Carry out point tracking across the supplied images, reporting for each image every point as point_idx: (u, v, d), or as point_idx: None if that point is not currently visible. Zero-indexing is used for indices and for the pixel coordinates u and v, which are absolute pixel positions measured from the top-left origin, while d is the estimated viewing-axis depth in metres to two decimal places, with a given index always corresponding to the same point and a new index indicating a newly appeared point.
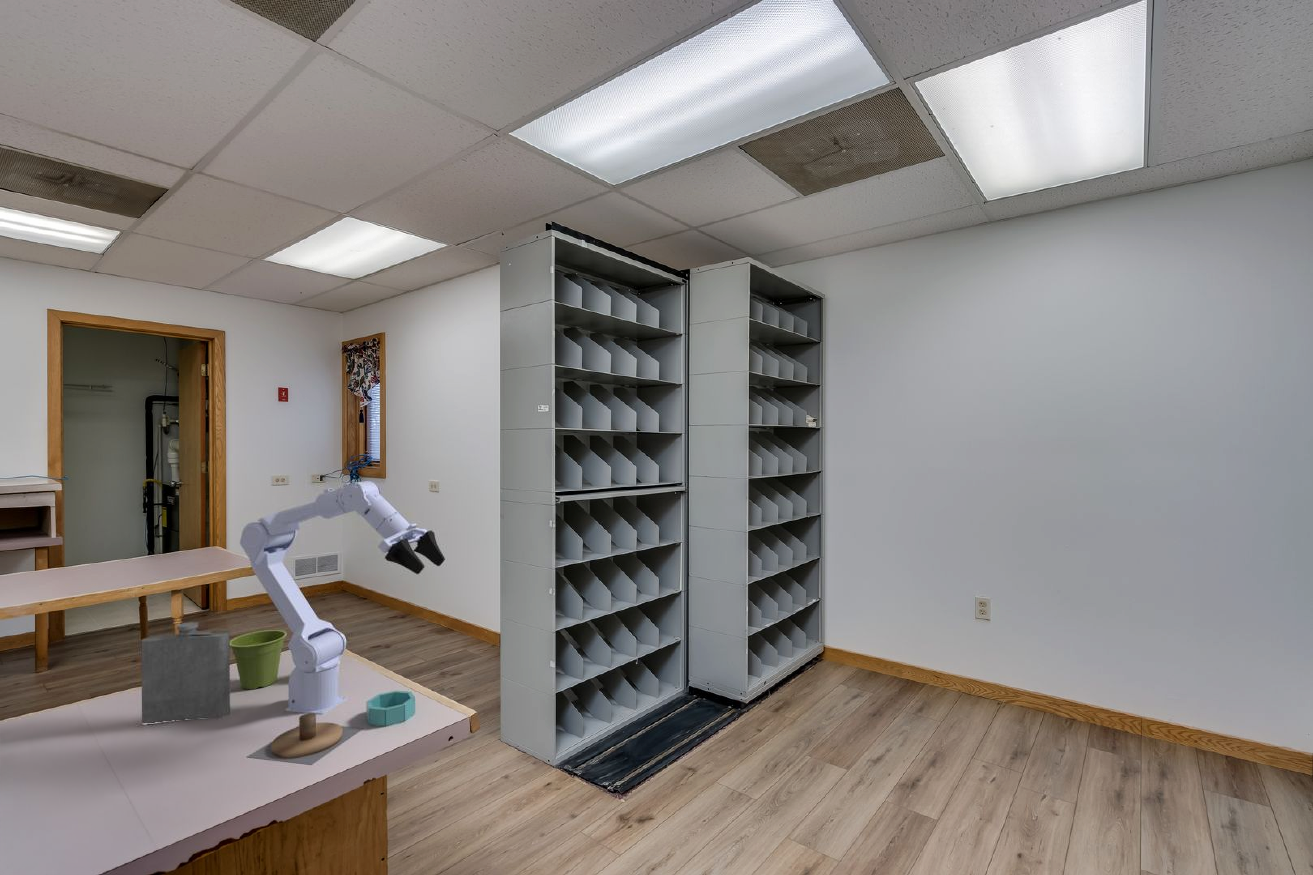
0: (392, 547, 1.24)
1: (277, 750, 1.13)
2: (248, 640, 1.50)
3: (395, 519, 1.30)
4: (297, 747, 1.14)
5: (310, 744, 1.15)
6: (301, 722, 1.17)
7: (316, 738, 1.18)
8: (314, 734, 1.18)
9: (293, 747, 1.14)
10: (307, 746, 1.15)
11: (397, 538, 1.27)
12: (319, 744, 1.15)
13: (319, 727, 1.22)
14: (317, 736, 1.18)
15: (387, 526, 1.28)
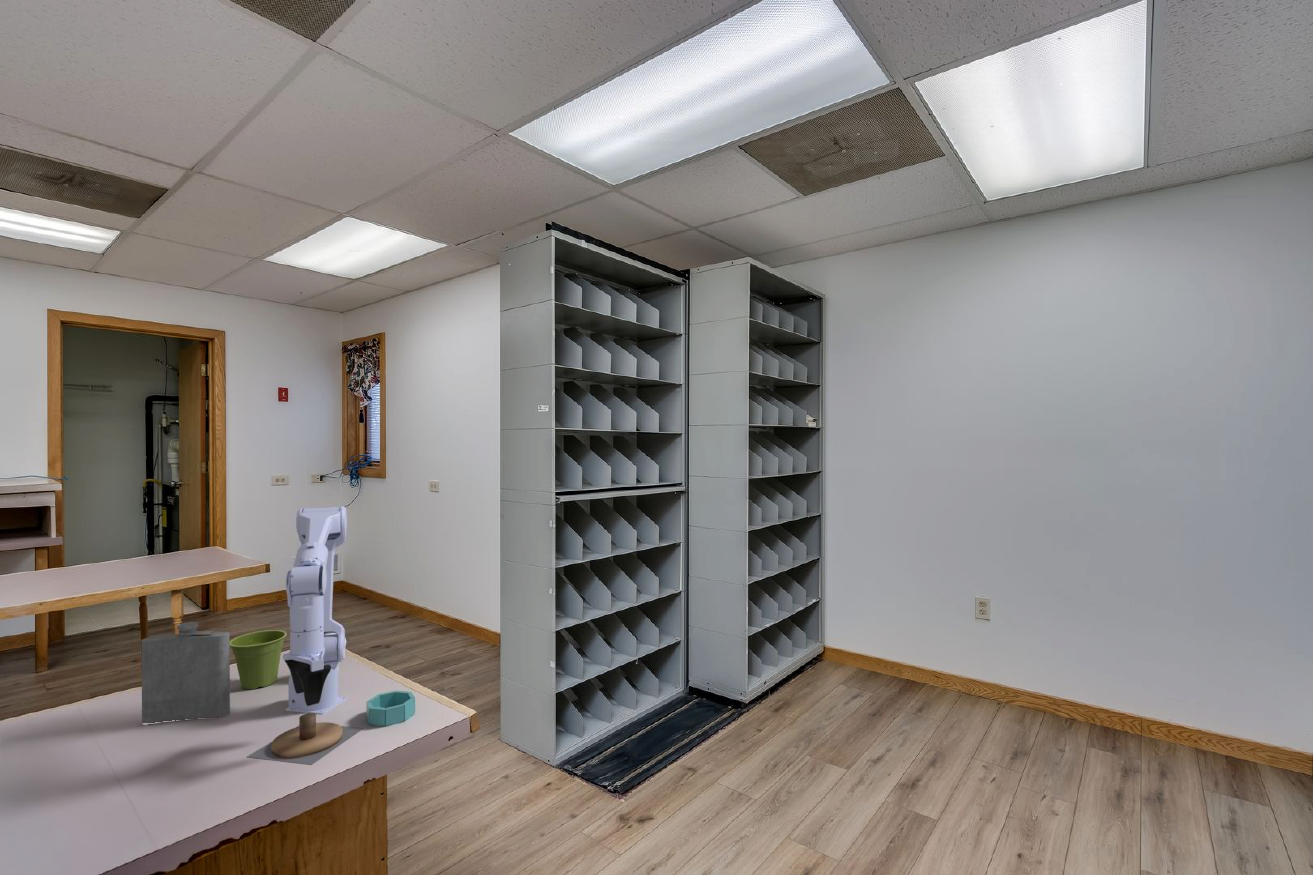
0: None
1: (277, 750, 1.13)
2: (248, 640, 1.50)
3: None
4: (297, 747, 1.14)
5: (310, 744, 1.15)
6: (301, 722, 1.17)
7: (316, 738, 1.18)
8: (314, 734, 1.18)
9: (293, 746, 1.14)
10: (307, 746, 1.15)
11: None
12: (319, 744, 1.15)
13: (319, 726, 1.22)
14: (317, 736, 1.18)
15: None
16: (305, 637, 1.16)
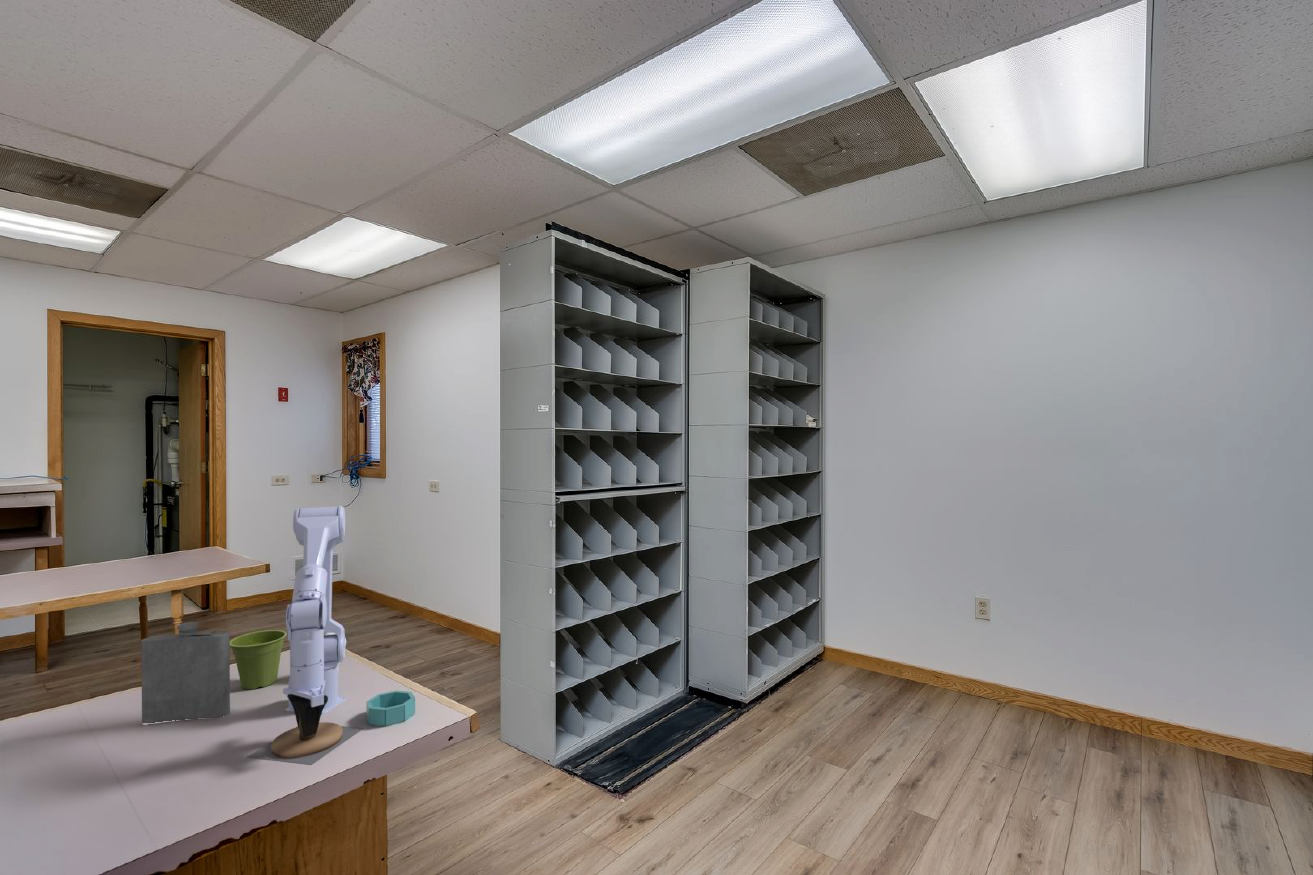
0: None
1: (277, 750, 1.13)
2: (248, 640, 1.50)
3: None
4: (297, 747, 1.14)
5: (310, 744, 1.15)
6: None
7: (316, 738, 1.18)
8: (314, 734, 1.18)
9: (293, 747, 1.14)
10: (307, 746, 1.15)
11: None
12: (319, 744, 1.15)
13: (319, 726, 1.22)
14: (317, 736, 1.18)
15: None
16: (305, 671, 1.16)
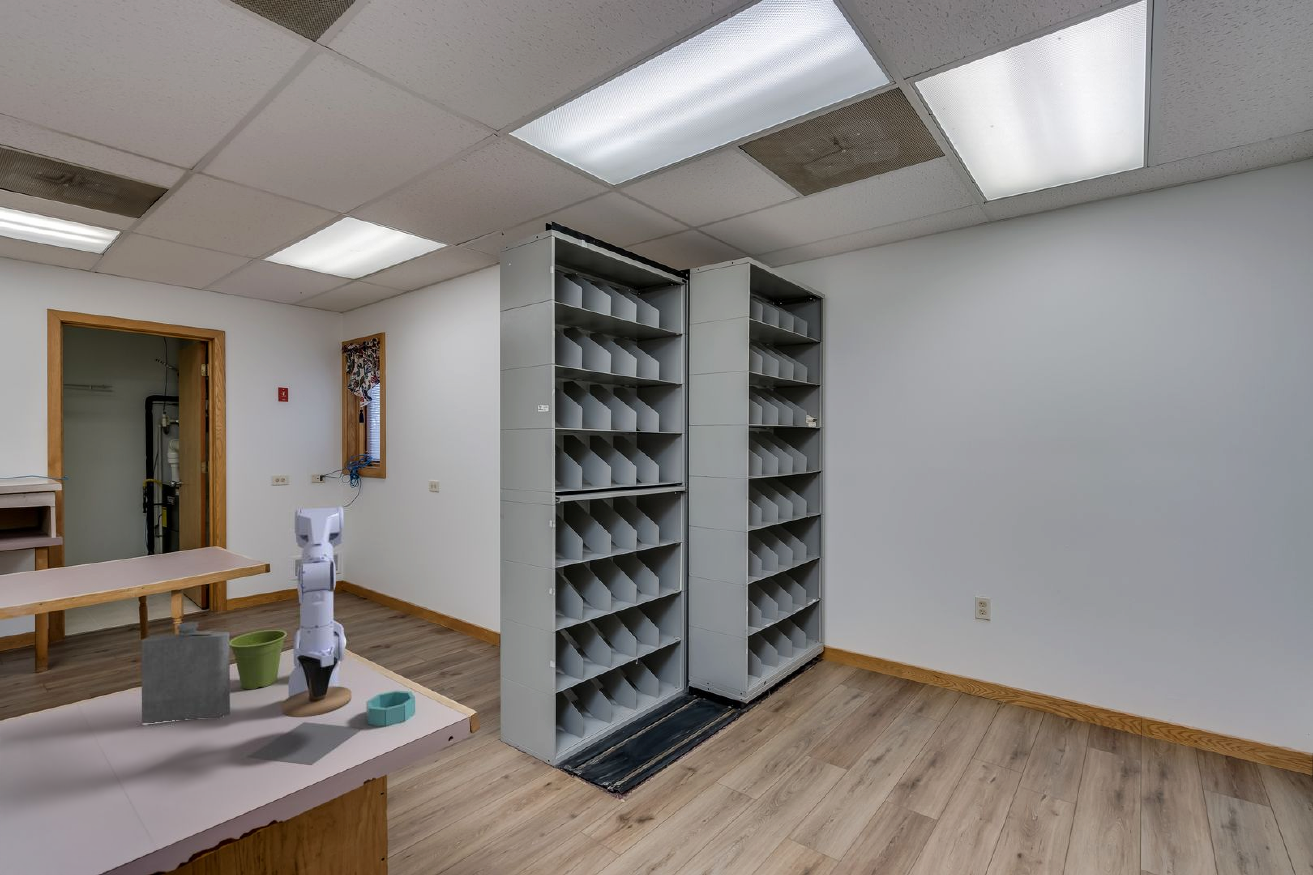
0: None
1: (287, 710, 1.15)
2: (248, 640, 1.50)
3: None
4: (306, 707, 1.16)
5: (320, 704, 1.17)
6: None
7: (326, 700, 1.19)
8: (324, 696, 1.20)
9: (303, 707, 1.16)
10: (317, 706, 1.16)
11: None
12: (329, 704, 1.17)
13: (329, 690, 1.24)
14: (327, 698, 1.20)
15: None
16: (315, 633, 1.17)
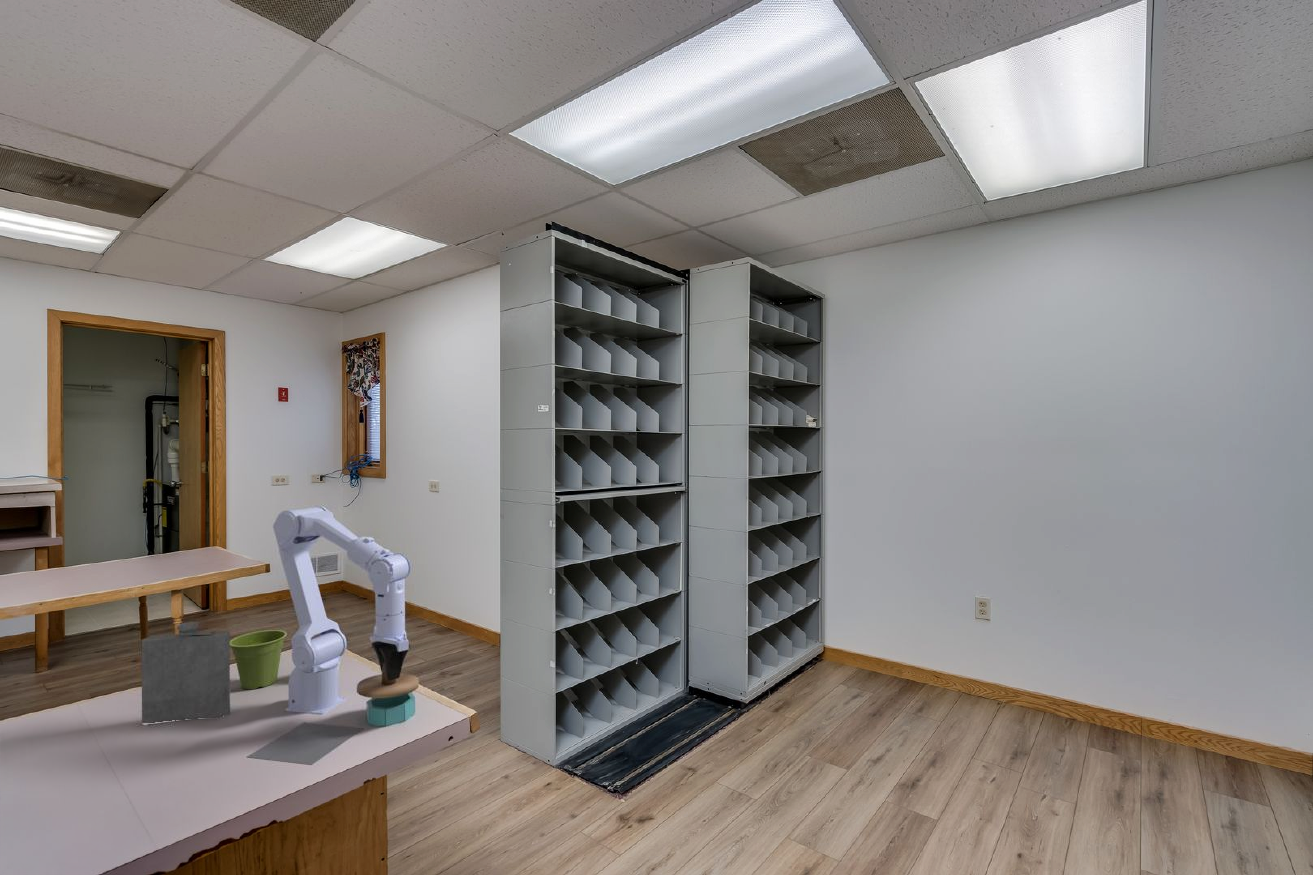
0: None
1: (364, 690, 1.24)
2: (248, 640, 1.50)
3: None
4: (381, 689, 1.25)
5: (393, 688, 1.26)
6: (385, 668, 1.28)
7: (397, 684, 1.28)
8: (395, 680, 1.29)
9: (378, 689, 1.25)
10: (391, 689, 1.25)
11: None
12: (401, 688, 1.26)
13: None
14: (397, 682, 1.29)
15: None
16: (390, 620, 1.27)
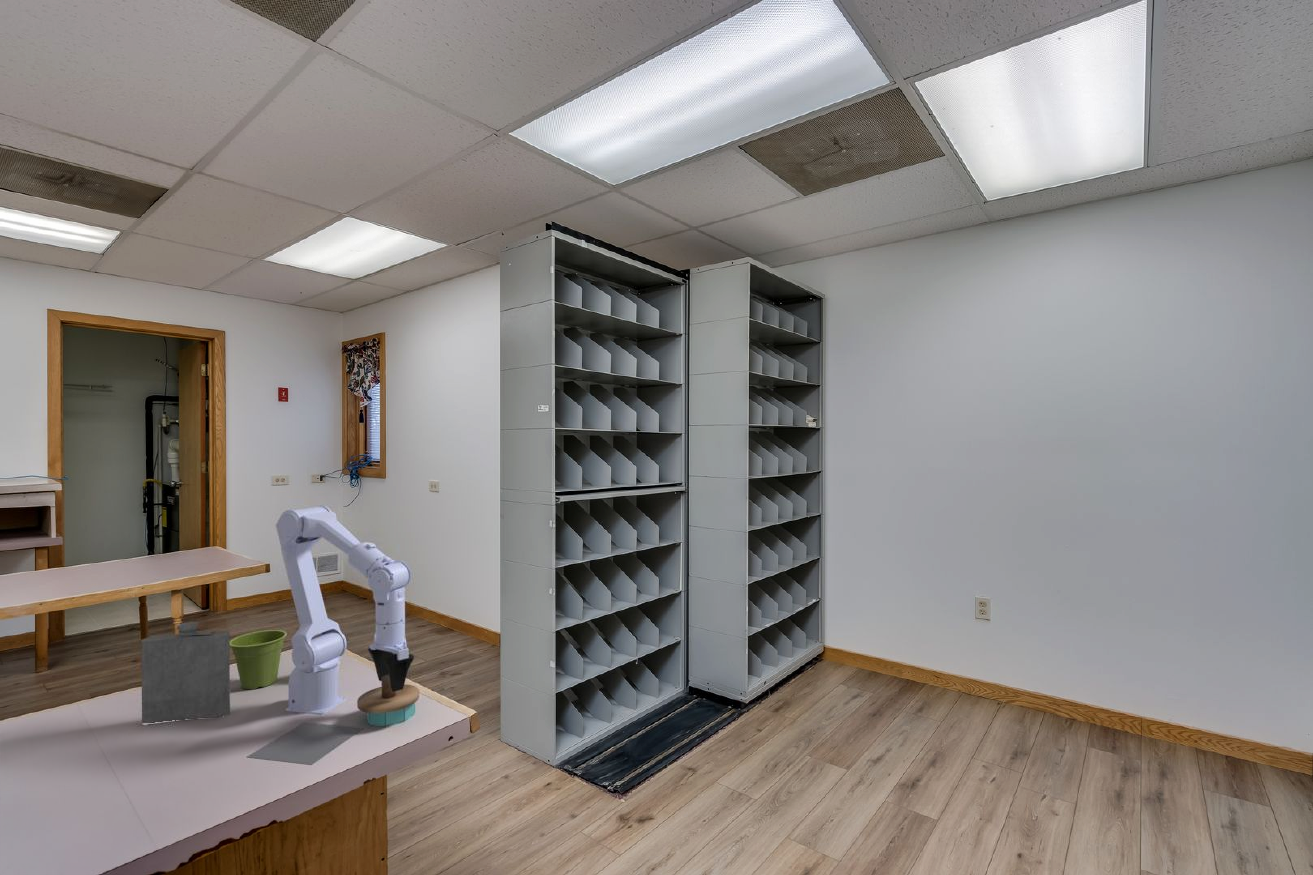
0: None
1: (364, 706, 1.24)
2: (248, 640, 1.50)
3: None
4: (381, 703, 1.25)
5: (393, 701, 1.26)
6: (384, 682, 1.28)
7: (397, 697, 1.28)
8: (395, 693, 1.29)
9: (378, 703, 1.25)
10: (391, 702, 1.25)
11: None
12: (401, 701, 1.26)
13: None
14: (397, 695, 1.29)
15: None
16: (390, 629, 1.27)
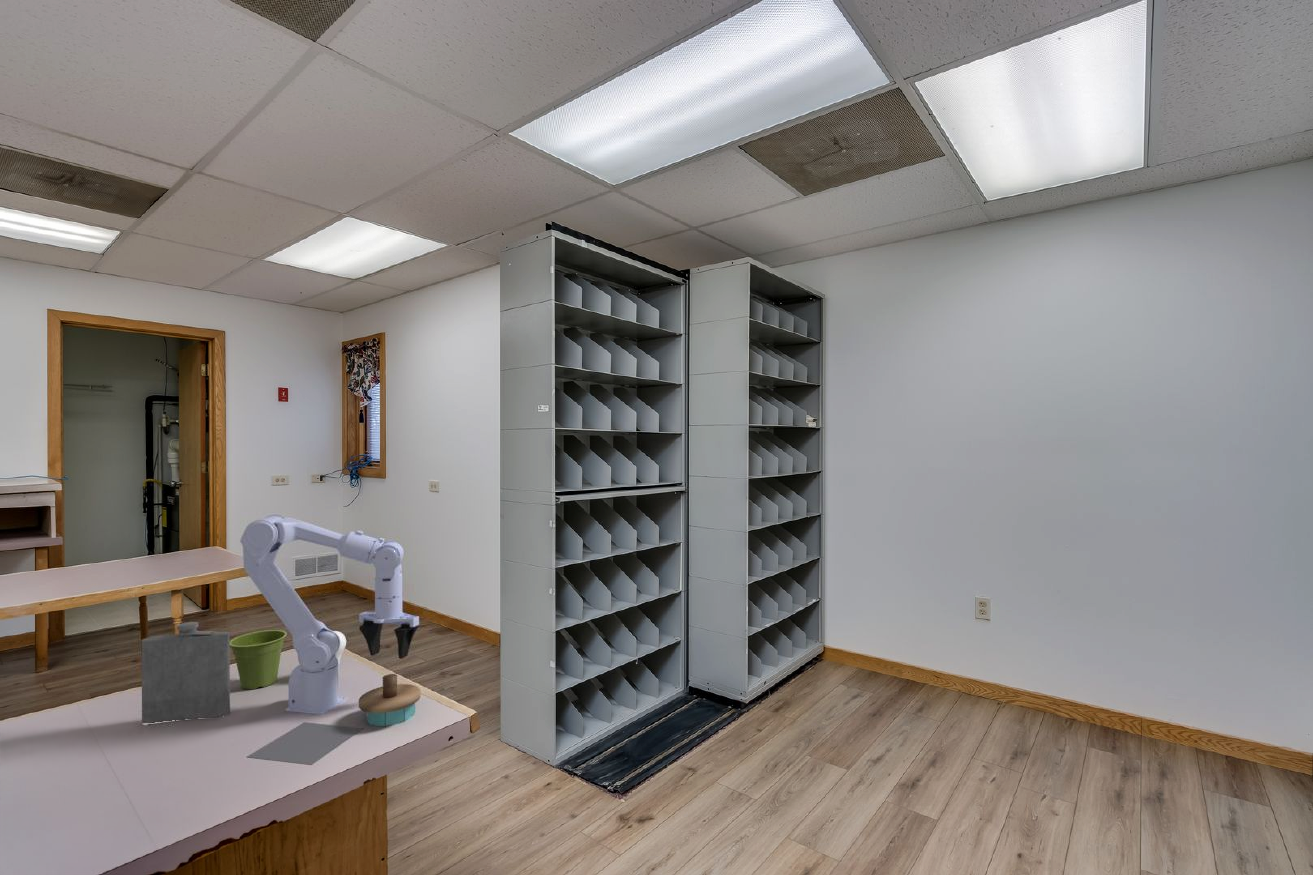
0: None
1: (365, 706, 1.24)
2: (248, 640, 1.50)
3: (376, 603, 1.37)
4: (382, 703, 1.25)
5: (394, 701, 1.26)
6: (385, 681, 1.28)
7: (398, 697, 1.28)
8: (396, 693, 1.29)
9: (379, 703, 1.25)
10: (392, 702, 1.25)
11: None
12: (402, 701, 1.26)
13: (398, 687, 1.33)
14: (399, 695, 1.29)
15: None
16: (395, 602, 1.37)
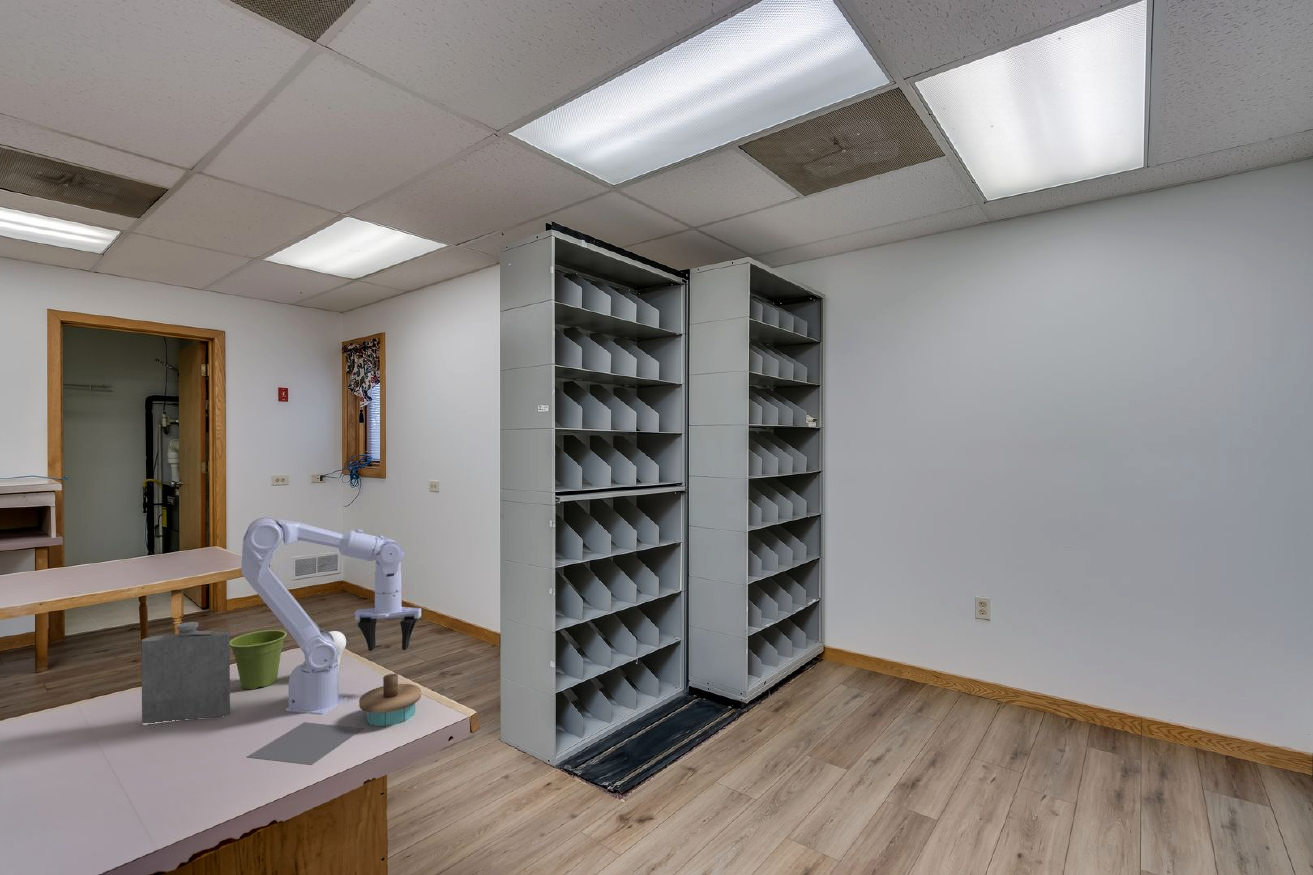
0: None
1: (366, 705, 1.24)
2: (248, 640, 1.50)
3: (378, 599, 1.40)
4: (383, 703, 1.25)
5: (395, 701, 1.26)
6: (385, 681, 1.28)
7: (399, 696, 1.28)
8: (396, 693, 1.29)
9: (380, 703, 1.25)
10: (392, 702, 1.26)
11: None
12: (403, 701, 1.26)
13: (399, 687, 1.33)
14: (399, 694, 1.29)
15: (375, 598, 1.42)
16: (398, 596, 1.42)
